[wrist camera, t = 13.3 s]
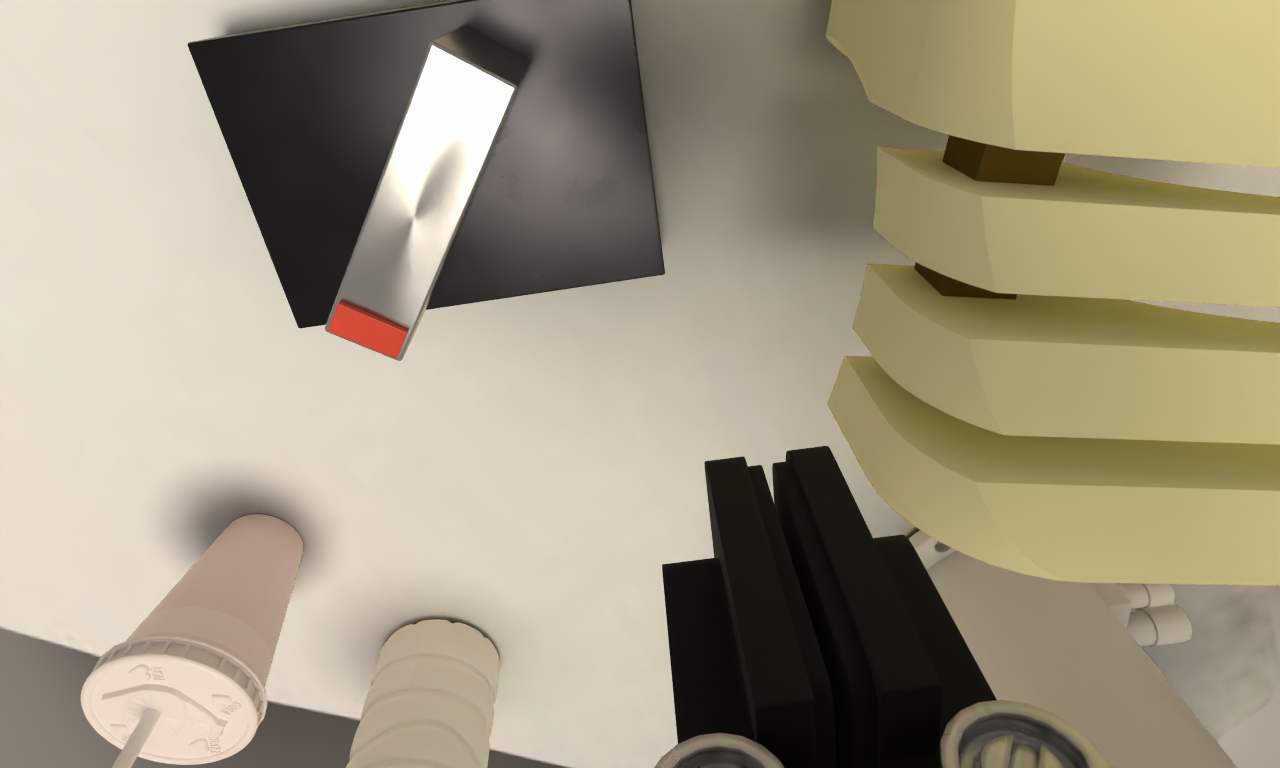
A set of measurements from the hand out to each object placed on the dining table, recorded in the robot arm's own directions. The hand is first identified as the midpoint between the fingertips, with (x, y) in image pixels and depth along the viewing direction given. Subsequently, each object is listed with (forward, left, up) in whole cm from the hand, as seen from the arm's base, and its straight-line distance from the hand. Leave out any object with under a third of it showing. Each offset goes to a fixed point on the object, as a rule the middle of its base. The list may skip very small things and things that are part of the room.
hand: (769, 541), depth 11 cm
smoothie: (+21, +15, -22) cm, 34 cm away
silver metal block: (+7, -2, -19) cm, 20 cm away
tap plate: (+7, -2, -22) cm, 23 cm away
